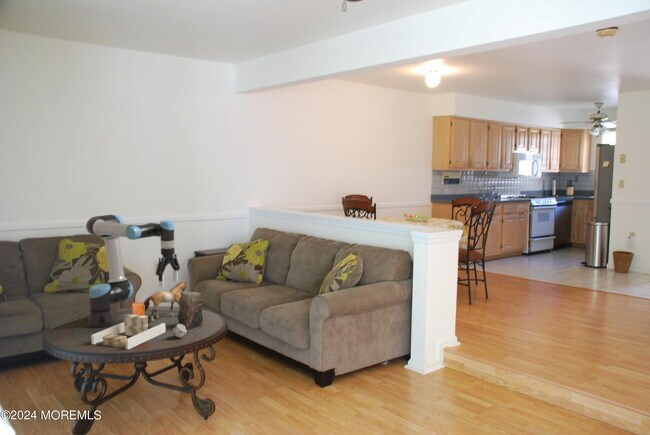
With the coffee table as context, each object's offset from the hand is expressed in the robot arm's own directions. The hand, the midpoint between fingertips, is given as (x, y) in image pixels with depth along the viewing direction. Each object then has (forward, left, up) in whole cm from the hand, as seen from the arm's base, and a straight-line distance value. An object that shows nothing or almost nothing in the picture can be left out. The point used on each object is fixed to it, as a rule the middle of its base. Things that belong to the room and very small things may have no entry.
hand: (168, 284), depth 311 cm
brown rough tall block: (+9, +6, -27) cm, 29 cm away
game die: (+16, -13, -27) cm, 33 cm away
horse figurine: (-18, +18, -27) cm, 37 cm away
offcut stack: (-10, -33, -27) cm, 44 cm away
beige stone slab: (-10, -17, -26) cm, 33 cm away
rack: (-10, -22, -26) cm, 36 cm away
